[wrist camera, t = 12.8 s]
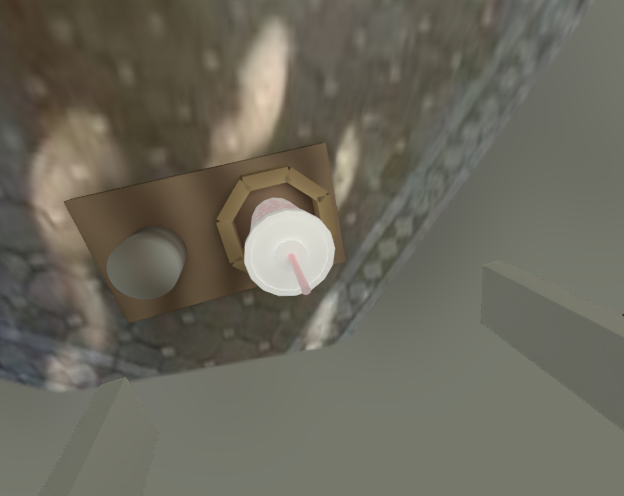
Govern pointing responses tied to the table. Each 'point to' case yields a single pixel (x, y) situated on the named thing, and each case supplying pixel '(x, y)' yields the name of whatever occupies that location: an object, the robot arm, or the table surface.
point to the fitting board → (196, 228)
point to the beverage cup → (287, 249)
